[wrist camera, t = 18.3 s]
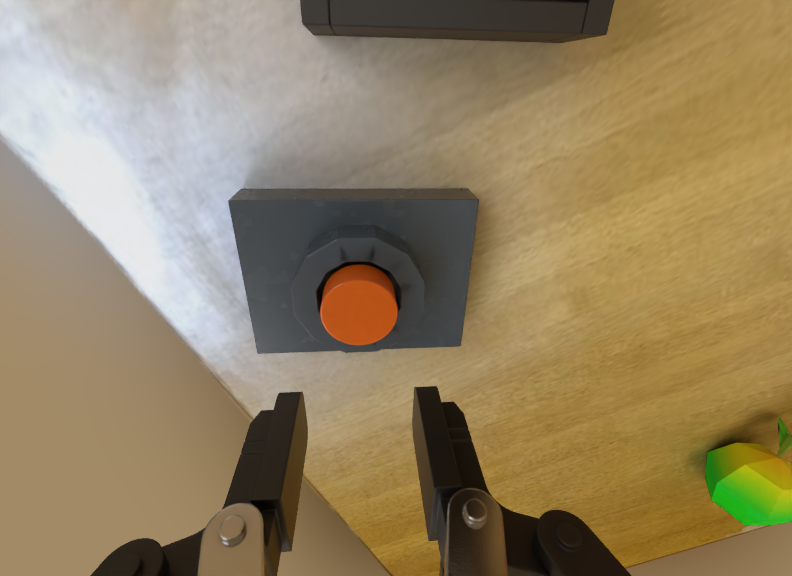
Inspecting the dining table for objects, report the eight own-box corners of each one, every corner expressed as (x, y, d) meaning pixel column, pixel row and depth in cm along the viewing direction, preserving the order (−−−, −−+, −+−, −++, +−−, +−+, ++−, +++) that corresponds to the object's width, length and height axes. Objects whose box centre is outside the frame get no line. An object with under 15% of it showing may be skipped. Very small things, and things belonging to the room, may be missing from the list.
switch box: (265, 331, 24) (249, 375, 20) (240, 188, 20) (214, 212, 16) (453, 326, 25) (468, 366, 21) (468, 188, 21) (490, 210, 17)
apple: (783, 566, 29) (867, 494, 25) (687, 512, 32) (747, 440, 28) (770, 498, 34) (837, 429, 30) (688, 457, 37) (739, 389, 33)
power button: (325, 326, 20) (322, 347, 18) (320, 264, 18) (316, 280, 17) (394, 324, 20) (397, 344, 19) (395, 262, 18) (398, 279, 17)
